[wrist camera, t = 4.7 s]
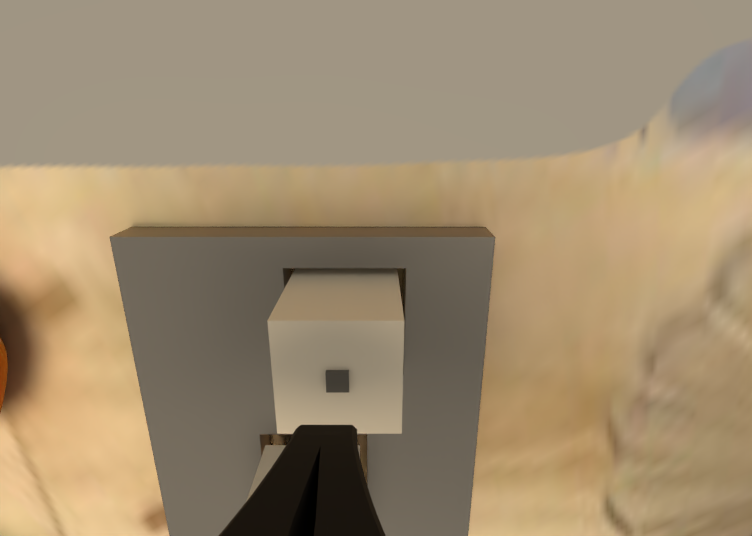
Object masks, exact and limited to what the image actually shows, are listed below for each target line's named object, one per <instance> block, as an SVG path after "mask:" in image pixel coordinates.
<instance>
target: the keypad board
mask: <svg viewBox="0 0 752 536" xmlns="http://www.w3.org/2000/svg"><path fill="white" fill-rule="evenodd" d="M110 241H111V246H112V251H113V256H114V261H115V266H116V271H117V276H118V281H119V286H120V291H121V296H122V301H123V306H124V311H125V316H126V321H127V326H128V331H129V336H130V341H131V346H132V351H133V356H134V361H135V366H136V371H137V376H138V381H139V386H140V391H141V396H142V401H143V406H144V411H145V416H146V421H147V426H148V431H149V435H150V440H151V445H152V450H153V455H154V460H155V465H156V470H157V475H158V480H159V485H160V490H161V495H162V500H163V505H164V510H165V515H166V520H167V525H168V530H169V535H170V536H219V534H220V533H221V532H222V531H223V530H224V529H225V527H226V526H227V525H228V524H229V522H230V521H231V520H232V519H233V518H234V516H235V515H236V514H237V513H238V511H239V510H240V509H241V508H242V506H243V505H244V504H245V503H246V501H247V498H248V495H249V492H250V489H251V486H252V483H253V480H254V477H255V474H256V471H257V468H258V465H259V462H260V460H261V457H262V454H263V451H264V448H265V445H271V443H270V434H277V425H276V414H275V402H274V391H273V379H272V368H271V357H270V345H269V334H268V322H267V320H268V319H269V317H270V315H271V313H272V311H273V309H274V307H275V305H276V304H277V302H278V300H279V298H280V296H281V294H282V292H283V290H284V288H285V287H286V285H287V283H288V281H289V279H290V277H291V268H404V275H403V314H404V359H403V401H402V434H367V480H368V489H369V493H370V496H371V499H372V502H373V505H374V507H375V510H376V513H377V515H378V518H379V521H380V523H381V526H382V528H383V531H384V533H385V535H386V536H468V531H469V520H470V509H471V498H472V487H473V476H474V465H475V454H476V443H477V432H478V421H479V410H480V399H481V388H482V377H483V366H484V355H485V344H486V333H487V322H488V311H489V300H490V289H491V278H492V267H493V256H494V245H495V236H494V235H493V234H492V233H491V232H490V231H489V230H488V229H487V228H486V227H130V228H128V229H126V230H124V231H122V232H119V233H117V234H115V235H113V236H111V237H110Z"/></svg>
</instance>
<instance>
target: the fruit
mask: <svg viewBox="0 0 752 536" xmlns="http://www.w3.org/2000/svg"><path fill="white" fill-rule="evenodd" d="M7 371H8V362H7V352H6V349H5V347H4V344H3V342H2V339H1V337H0V412H1V408H2V404H3V399H4V393H5V388H6V383H7Z"/></svg>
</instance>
